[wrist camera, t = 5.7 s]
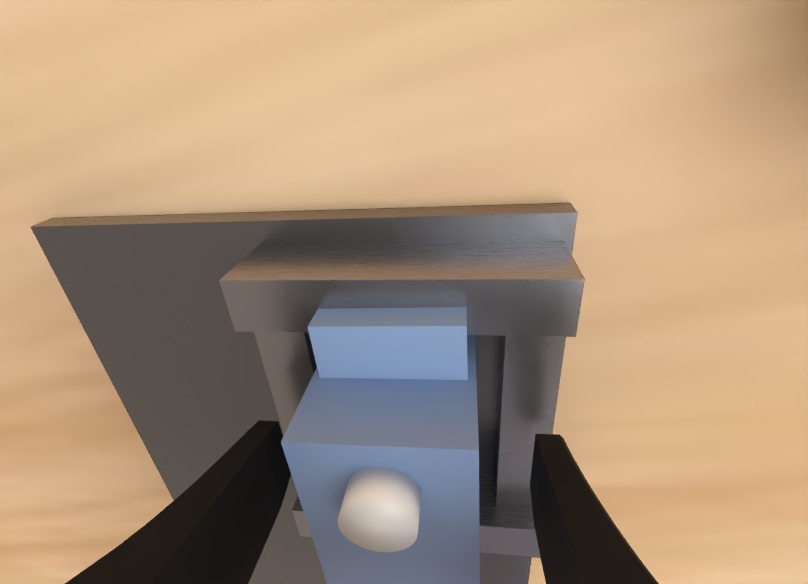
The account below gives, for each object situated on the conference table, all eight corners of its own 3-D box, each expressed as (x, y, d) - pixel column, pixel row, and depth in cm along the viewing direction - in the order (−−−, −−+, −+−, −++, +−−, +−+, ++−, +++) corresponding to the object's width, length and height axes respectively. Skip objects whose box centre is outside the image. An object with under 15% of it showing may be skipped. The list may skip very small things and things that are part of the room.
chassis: (522, 596, 21) (530, 673, 18) (223, 565, 23) (193, 629, 20) (570, 203, 11) (602, 246, 9) (52, 218, 13) (-46, 256, 11)
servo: (475, 480, 16) (481, 677, 11) (373, 475, 16) (332, 658, 11) (473, 265, 12) (480, 425, 7) (334, 269, 12) (242, 417, 7)
